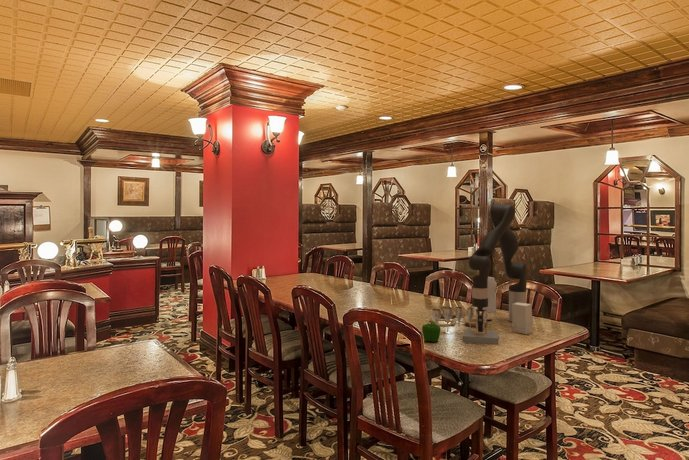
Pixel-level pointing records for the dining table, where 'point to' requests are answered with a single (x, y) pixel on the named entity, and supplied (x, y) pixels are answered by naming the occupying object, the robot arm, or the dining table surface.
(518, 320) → the skincare box
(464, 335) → the notched board
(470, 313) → the goblet set
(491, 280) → the tall pale column
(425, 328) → the bell pepper
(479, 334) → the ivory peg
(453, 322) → the tableware set
